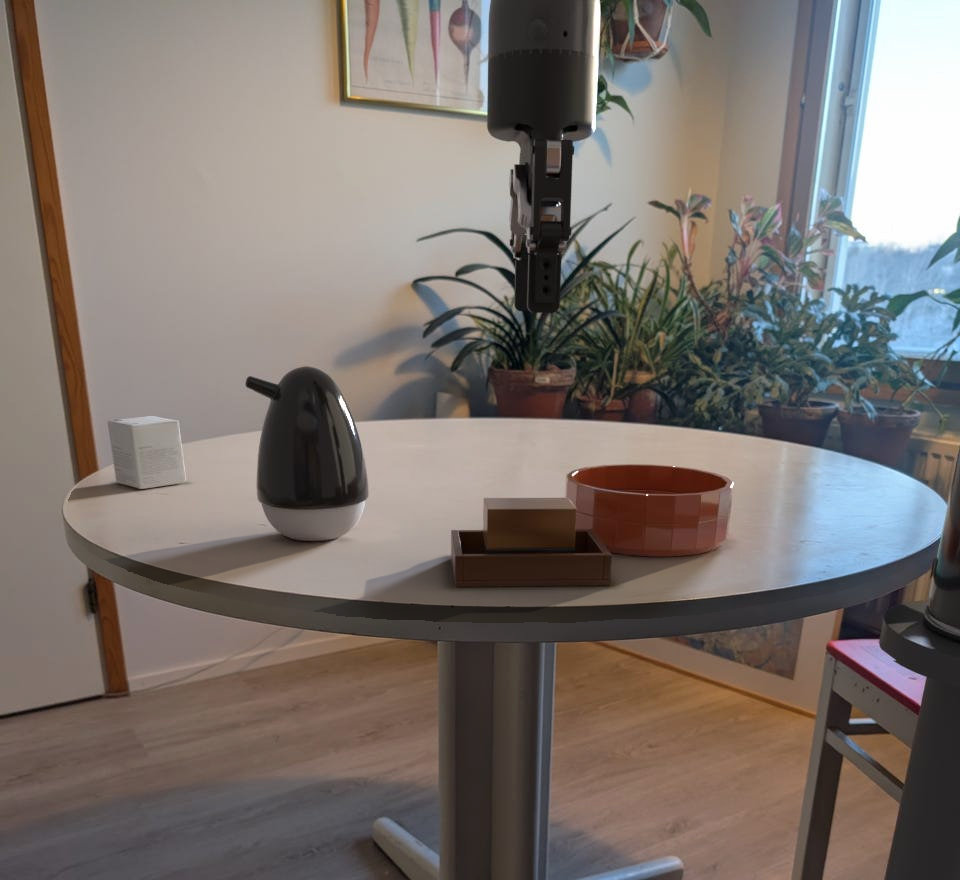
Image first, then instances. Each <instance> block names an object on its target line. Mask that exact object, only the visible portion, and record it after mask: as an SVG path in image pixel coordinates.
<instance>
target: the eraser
mask: <svg viewBox="0 0 960 880" xmlns="http://www.w3.org/2000/svg"><path fill="white" fill-rule="evenodd" d="M482 510H483V515H482V517H483V518H482V519H483V521H482V530H483V554H554V553H574V548H575V530H576V510H577V509H576V508H575V507H574V505H573V504H572V503H571V501H570V500H569V499H568V498H565V497H484V498H483V509H482Z"/></svg>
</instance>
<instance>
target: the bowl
mask: <svg viewBox="0 0 960 880" xmlns="http://www.w3.org/2000/svg"><path fill="white" fill-rule="evenodd" d="M734 487H735V483H734V481H732V480H731V479H730V478H729V477H727V476H725V475H722V474H719V473H716V472H712V471H708V470H702V469H698V468H693V467H692V468H691V467H685V466H677V465H664V464H663V465H662V464H649V463H648V464H647V463H645V464H644V463H642V464H641V463H619V464H617V463H616V464H601V465H594V466H593V465H592V466H584V467H581V468H577V469H573V470H571V471H570V472H568V473H566V475H565V491H564V492H565V494H564V495H565V496H564V498H568V499H569V500H570V501H571V503H572V504H573V505H574V507H575V508H576V509H577V510H576V529H585V530H586V529H592V530H593V531H594V532H595V534H596V535H597V536H598V538H599V539H600V540H601V542H602V543H603V544H604V545H605V547H606V548H607V549H608V551H609V552H610V553H611V554H620V555H628V556H635V557H637V556H639V557H663V558H664V557H667V558H669V557H684V556H692V555H699V554H705V553H709V552H711V551H713V550H716V549H718V548H719V547H721V546H722V544H723V542H725V541H726V540H727V538H728V535H729V529H730V519H731V513H732V503H733V494H734Z"/></svg>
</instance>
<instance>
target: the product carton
mask: <svg viewBox="0 0 960 880" xmlns="http://www.w3.org/2000/svg"><path fill="white" fill-rule="evenodd" d="M107 430H108V435H109V442H110V449H111V455H112V461H113V468H114V476H115V481H116V483H117V484H120V485H124V486H127V487H128V486H129V487H132V488H134V489H138V490H143V489H144V490H145V489H151V488H158V487H165V486H172V485H179V484H183V483H186V482H187V477H186V470H185V461H184V452H183V445H182V438H181V431H180V422H179V420H177V419H170V418H164V417H160V416H155V415H147V416H138V417H129V418H118V419H110V420H107Z"/></svg>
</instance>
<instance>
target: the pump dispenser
mask: <svg viewBox="0 0 960 880" xmlns="http://www.w3.org/2000/svg"><path fill="white" fill-rule="evenodd" d="M244 383H245V385H244V386H245V387H246V388H247V389H248V390H252V391H253V392H255V393H257V394H259V395H261V396H263V397H265V398H268V399H269V400H270V402H269V404H268V408H267V410H266V413H265V416H264V421H263V424H262V429H261V433H260V439H259V444H258V452H257V463H256V482H255V483H256V485H255V486H256V499H257V501H258V502H259V503H260V504H261V507H262V511H263V513H264V515H265V517H266V519H267V521H268V523H269V524H270V525H271V526H272V527H273V528H274V529H275V530H276V531H277V532H278V533H280V534H281V535H283V536H285V537H286V538H290V539H292V540H295V541H300V542H323V541H331V540H335V539H338V538H341V537H343V536H345V535H346V534H348V533H349V532H351V531H352V530H353V529H354V528H355V527H356V526H357V525H358V523H359V521H360V520H361V517H362V516H363V512H364V510H365V505H366V501H367V499H368V498H369V497H370V496H369V495H370V489H369V487H370V486H369V478H368V471H367V464H366V459H365V454H364V449H363V447H362V446H363V445H362V441H361V437H360V435H359V431H358V427H357V426H356V423H355V421H354V418H353V415H352V413H351V411H350V408H349V405H348V403H347V401H346V400H345V397H344V395H343V392H342V391H341V390H340V388H339V386H338V385H337V383H336V382H335V380H334V379H333V378H332V377H331V376H330V375H329V374H328V373H327V372H325V371H324V370H322V369H320V368H317V367H314V366H307V365H303V366H299V367H296V368H293V369H291V370H289V371H288V372H286V373H285V374H284V375H283V376H282V377H281V379H280V381H279V382H278V383H274V382H271V381H267V380H264V379H261V378H258V377H255V376H253V375H249V376H247V377H246V380H245V382H244Z"/></svg>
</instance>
